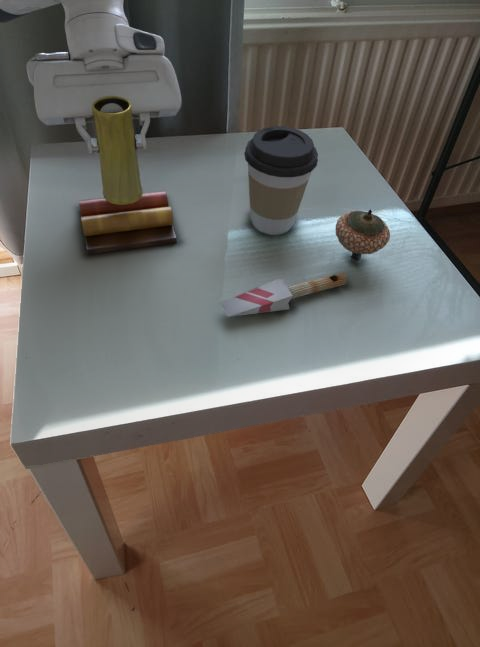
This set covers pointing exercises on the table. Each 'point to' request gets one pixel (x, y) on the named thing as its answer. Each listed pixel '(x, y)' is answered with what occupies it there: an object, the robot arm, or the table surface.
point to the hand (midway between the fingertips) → (118, 150)
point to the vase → (117, 152)
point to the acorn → (362, 233)
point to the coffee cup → (278, 176)
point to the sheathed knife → (277, 295)
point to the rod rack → (127, 223)
